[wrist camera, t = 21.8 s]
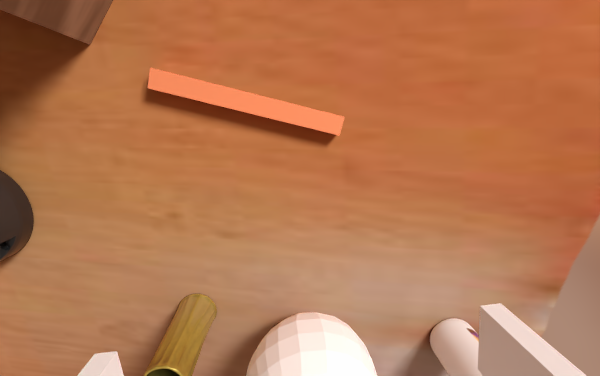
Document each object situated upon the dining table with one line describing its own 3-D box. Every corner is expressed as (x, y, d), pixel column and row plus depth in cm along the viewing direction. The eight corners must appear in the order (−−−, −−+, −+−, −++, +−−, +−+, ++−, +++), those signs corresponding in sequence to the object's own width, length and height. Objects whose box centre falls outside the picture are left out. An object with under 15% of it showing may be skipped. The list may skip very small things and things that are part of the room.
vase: (204, 332, 50) (173, 415, 36) (171, 314, 49) (126, 392, 35) (224, 305, 49) (200, 378, 35) (191, 286, 48) (153, 354, 34)
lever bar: (340, 117, 44) (344, 116, 41) (336, 134, 44) (339, 135, 42) (158, 70, 41) (150, 67, 38) (155, 90, 41) (147, 88, 39)
